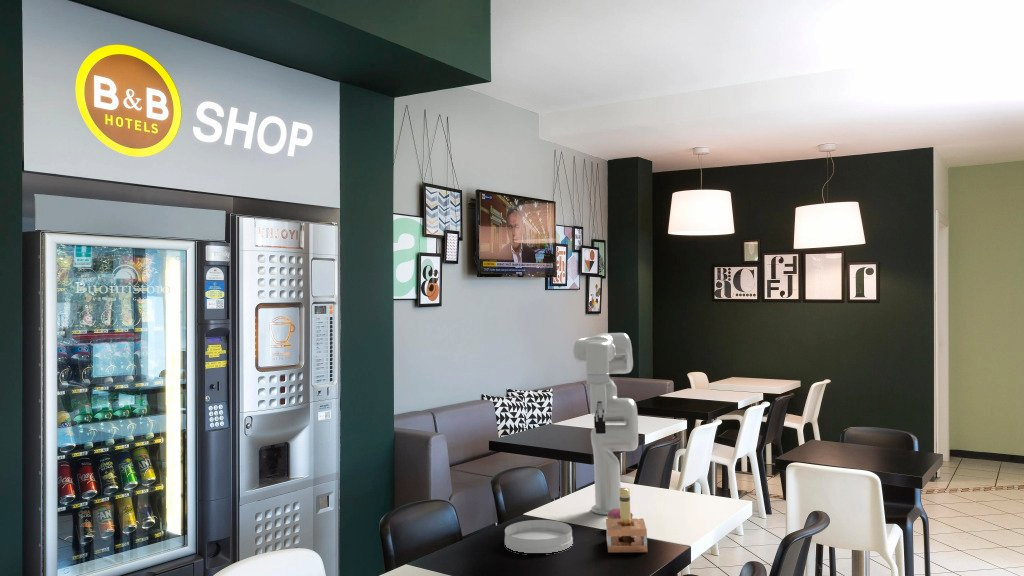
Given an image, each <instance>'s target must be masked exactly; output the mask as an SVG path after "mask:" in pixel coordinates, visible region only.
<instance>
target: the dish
mask: <svg viewBox="0 0 1024 576" xmlns="http://www.w3.org/2000/svg"><path fill="white" fill-rule="evenodd" d="M573 540H574V537H573V529H572V526H571V525H569V524H568V523H566V522H562V521H559V520H558V521H557V520H551V519H550V520H549V519H533V520H532V519H530V520H522V521H518V522H515V523H511V524H509V525H508V526H506V527H505V529H504V546H505V545H506V547H507V548H509V549H511V550H513V551H518V552H524V553H552V552H558V551H562V550H565V549H567V548H569V547H570V546H572V547H573V545H574V541H573ZM572 544H573V545H572ZM506 547H505V548H506ZM507 548H506V549H507ZM570 548H571V547H570ZM570 548H569V549H570ZM567 550H568V549H567ZM565 551H566V550H565ZM562 552H563V551H562ZM558 553H559V552H558Z"/></svg>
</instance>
